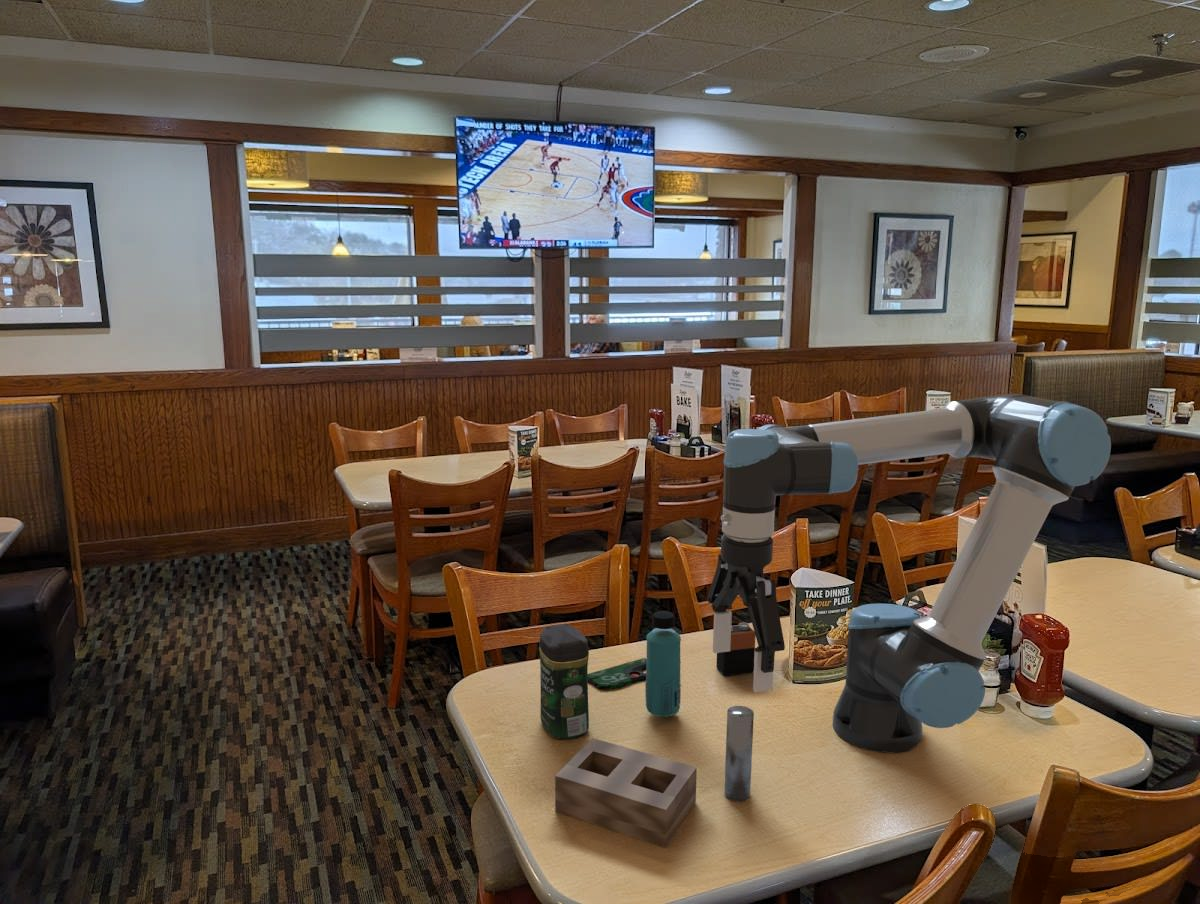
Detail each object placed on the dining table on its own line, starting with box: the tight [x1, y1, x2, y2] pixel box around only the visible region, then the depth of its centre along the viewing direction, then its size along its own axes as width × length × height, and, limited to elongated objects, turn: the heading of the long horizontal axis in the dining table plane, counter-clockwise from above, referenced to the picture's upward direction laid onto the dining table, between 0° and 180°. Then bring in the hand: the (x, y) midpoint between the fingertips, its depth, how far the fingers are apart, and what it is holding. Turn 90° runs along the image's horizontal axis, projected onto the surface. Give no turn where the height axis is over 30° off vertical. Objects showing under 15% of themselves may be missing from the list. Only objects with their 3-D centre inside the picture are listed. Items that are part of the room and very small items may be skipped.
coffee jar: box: [539, 623, 590, 740], centre depth 150 cm, size 10×8×19 cm
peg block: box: [554, 737, 698, 849], centre depth 128 cm, size 18×12×6 cm, turn 63°
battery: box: [716, 622, 756, 677], centre depth 173 cm, size 4×7×10 cm, turn 105°
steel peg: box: [724, 705, 755, 803], centre depth 131 cm, size 4×4×14 cm
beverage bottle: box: [644, 610, 682, 718], centre depth 154 cm, size 6×7×20 cm
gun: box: [588, 657, 647, 691], centre depth 171 cm, size 16×1×10 cm
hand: (741, 670), depth 128 cm, fingers open, 13 cm apart
